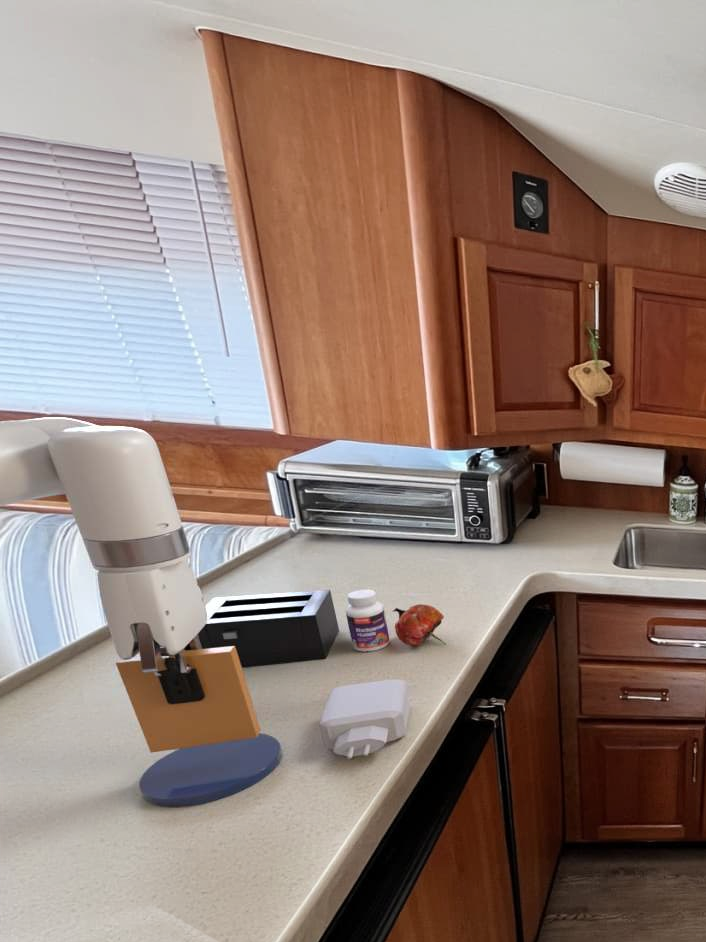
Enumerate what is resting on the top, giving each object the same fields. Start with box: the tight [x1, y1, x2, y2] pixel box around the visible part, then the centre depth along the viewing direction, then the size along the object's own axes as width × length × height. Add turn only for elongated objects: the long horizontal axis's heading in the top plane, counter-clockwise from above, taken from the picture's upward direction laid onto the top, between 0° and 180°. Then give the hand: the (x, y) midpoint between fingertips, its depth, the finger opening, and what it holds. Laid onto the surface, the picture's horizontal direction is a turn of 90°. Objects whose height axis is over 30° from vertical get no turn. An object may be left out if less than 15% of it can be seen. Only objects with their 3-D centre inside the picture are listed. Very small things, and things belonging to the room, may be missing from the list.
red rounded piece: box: [392, 603, 447, 647], centre depth 111 cm, size 7×7×10 cm
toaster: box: [199, 589, 340, 668], centre depth 104 cm, size 16×12×8 cm
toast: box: [115, 646, 262, 753], centre depth 74 cm, size 10×2×12 cm, turn 114°
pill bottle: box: [345, 589, 390, 653], centre depth 108 cm, size 5×5×10 cm
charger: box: [319, 678, 411, 760], centre depth 85 cm, size 5×9×15 cm
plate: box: [138, 732, 283, 808], centre depth 78 cm, size 13×13×1 cm
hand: (191, 695), depth 74 cm, fingers closed on toast, 1 cm apart
